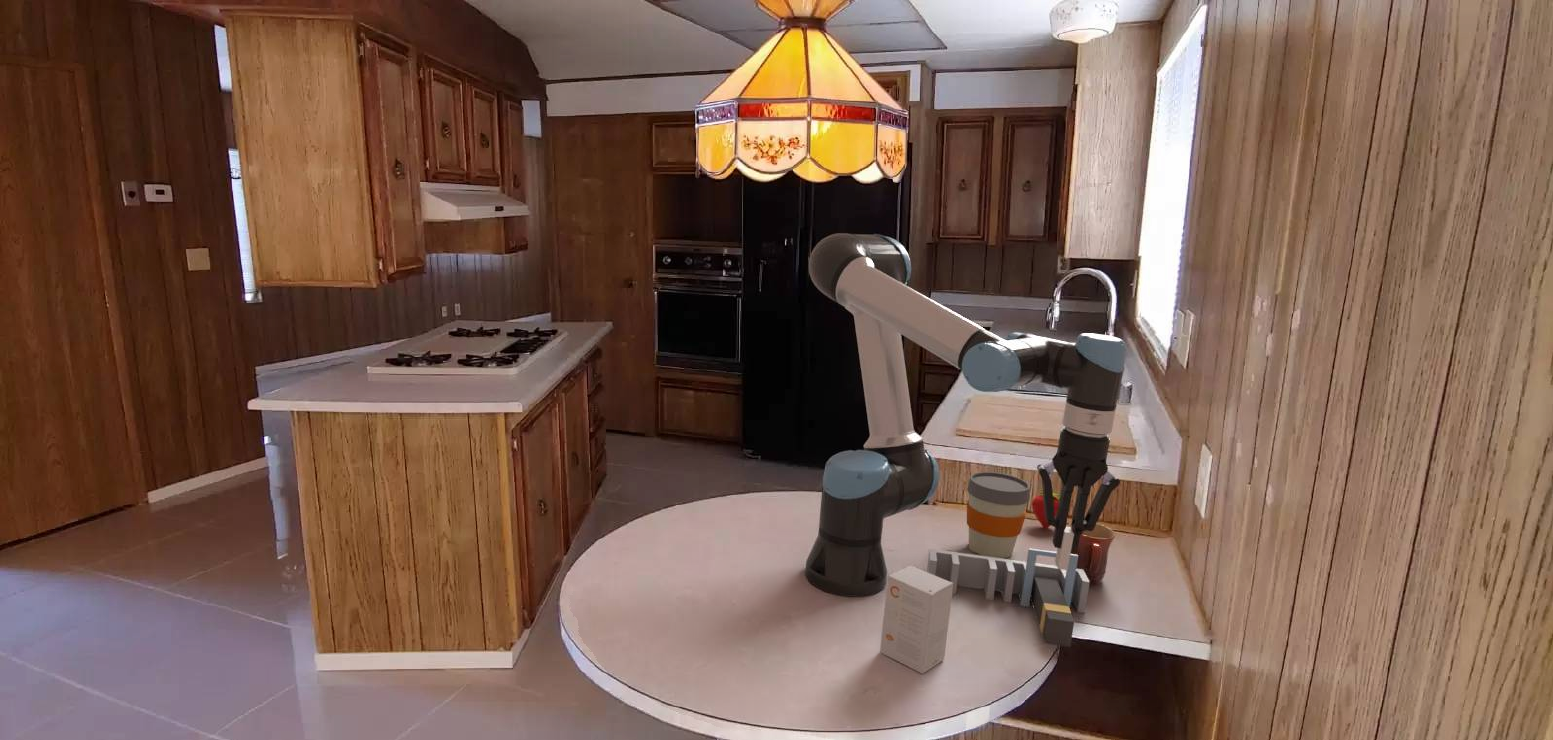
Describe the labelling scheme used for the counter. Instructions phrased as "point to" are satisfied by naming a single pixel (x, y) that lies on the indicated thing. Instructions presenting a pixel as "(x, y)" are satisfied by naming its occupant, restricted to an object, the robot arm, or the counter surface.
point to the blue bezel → (1030, 573)
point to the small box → (916, 618)
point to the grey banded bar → (1052, 611)
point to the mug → (1094, 552)
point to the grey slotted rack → (999, 575)
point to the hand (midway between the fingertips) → (1061, 565)
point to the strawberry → (1039, 508)
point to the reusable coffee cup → (995, 512)
